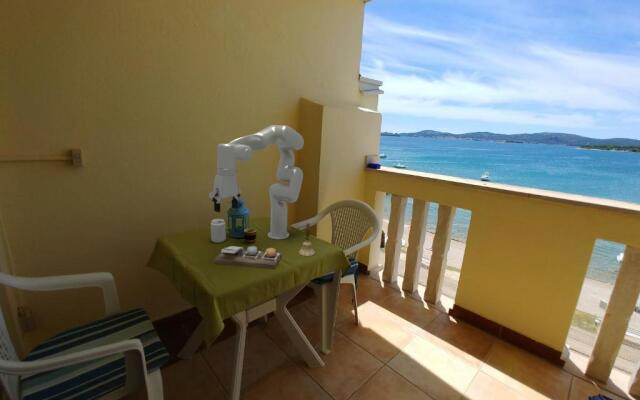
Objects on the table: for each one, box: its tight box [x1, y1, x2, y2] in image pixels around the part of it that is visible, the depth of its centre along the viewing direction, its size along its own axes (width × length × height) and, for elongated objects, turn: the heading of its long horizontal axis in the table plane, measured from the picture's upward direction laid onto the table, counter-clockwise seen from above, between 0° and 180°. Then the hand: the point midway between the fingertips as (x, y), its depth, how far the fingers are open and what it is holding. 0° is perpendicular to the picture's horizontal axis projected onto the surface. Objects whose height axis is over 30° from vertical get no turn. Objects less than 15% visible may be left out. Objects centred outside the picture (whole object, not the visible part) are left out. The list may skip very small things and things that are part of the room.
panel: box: [213, 246, 282, 270], centre depth 124 cm, size 13×28×5 cm, turn 85°
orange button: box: [265, 247, 277, 257], centre depth 123 cm, size 4×4×2 cm
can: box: [210, 218, 227, 244], centre depth 143 cm, size 8×8×12 cm
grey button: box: [246, 245, 258, 255], centre depth 124 cm, size 4×4×2 cm
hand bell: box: [298, 222, 316, 257], centre depth 134 cm, size 8×8×16 cm
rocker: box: [220, 245, 244, 253], centre depth 124 cm, size 11×6×1 cm, turn 175°
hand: (226, 209), depth 119 cm, fingers open, 9 cm apart
